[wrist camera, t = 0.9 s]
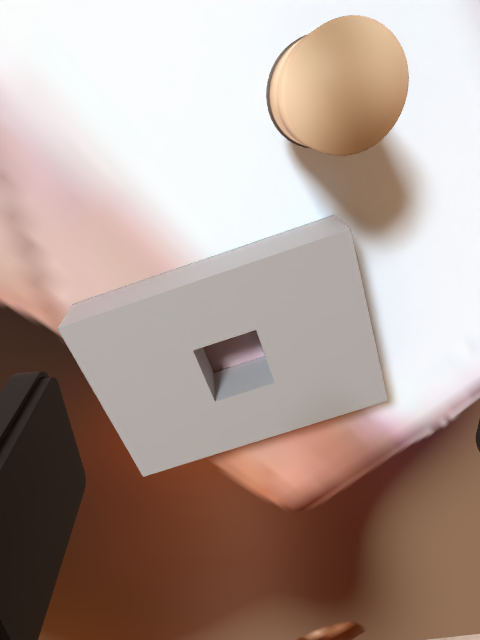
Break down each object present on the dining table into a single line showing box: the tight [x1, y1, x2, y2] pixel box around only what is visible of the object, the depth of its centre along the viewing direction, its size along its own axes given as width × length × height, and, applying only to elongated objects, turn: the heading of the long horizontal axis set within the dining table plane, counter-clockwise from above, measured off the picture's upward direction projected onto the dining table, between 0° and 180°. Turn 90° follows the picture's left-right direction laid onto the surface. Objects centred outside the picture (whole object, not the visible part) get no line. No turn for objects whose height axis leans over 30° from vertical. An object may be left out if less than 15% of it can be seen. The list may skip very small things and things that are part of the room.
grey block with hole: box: [57, 215, 388, 476], centre depth 34 cm, size 20×14×4 cm
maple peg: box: [266, 15, 409, 156], centre depth 24 cm, size 6×6×9 cm
